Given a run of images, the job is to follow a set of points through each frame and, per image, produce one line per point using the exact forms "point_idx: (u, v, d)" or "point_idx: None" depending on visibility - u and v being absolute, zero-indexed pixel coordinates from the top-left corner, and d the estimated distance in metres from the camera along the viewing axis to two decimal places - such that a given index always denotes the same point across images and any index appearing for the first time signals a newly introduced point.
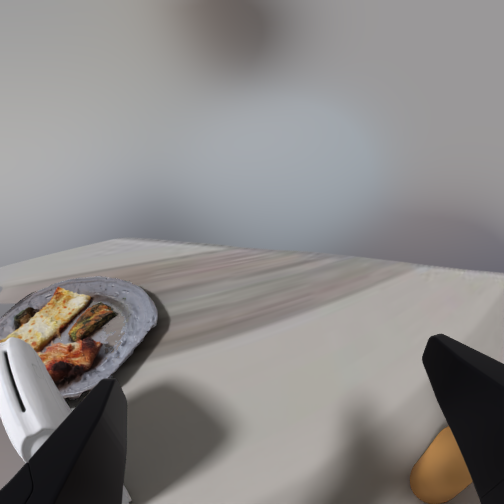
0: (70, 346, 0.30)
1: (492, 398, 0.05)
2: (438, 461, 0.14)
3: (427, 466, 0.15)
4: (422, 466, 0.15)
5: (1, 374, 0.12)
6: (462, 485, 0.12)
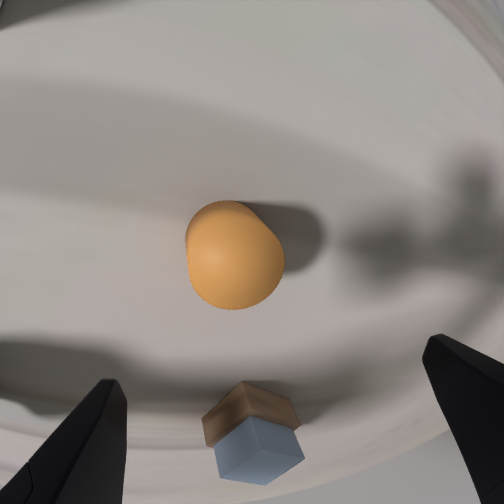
0: None
1: (492, 398, 0.05)
2: (206, 241, 0.15)
3: (203, 226, 0.16)
4: (208, 218, 0.17)
5: None
6: None
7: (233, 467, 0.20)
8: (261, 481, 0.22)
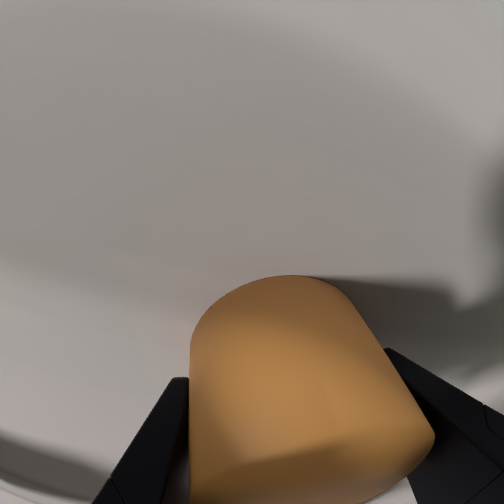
0: None
1: (435, 426, 0.05)
2: (241, 474, 0.04)
3: (234, 406, 0.05)
4: (250, 365, 0.05)
5: None
6: None
7: None
8: None
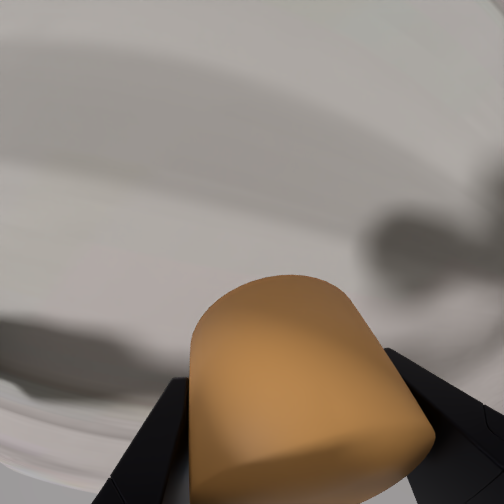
0: None
1: (435, 426, 0.05)
2: (242, 473, 0.04)
3: (234, 405, 0.05)
4: (250, 365, 0.05)
5: None
6: None
7: None
8: None
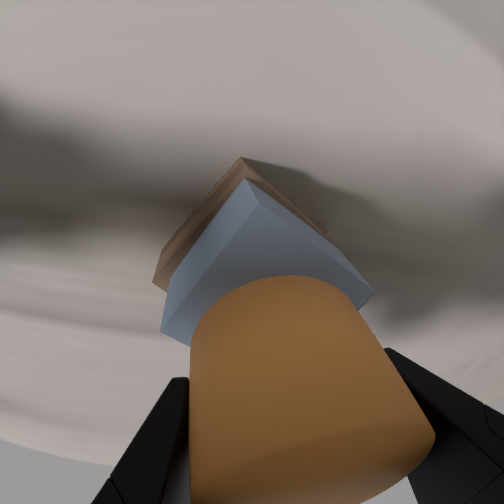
0: None
1: (435, 426, 0.05)
2: (242, 473, 0.04)
3: (234, 405, 0.05)
4: (250, 365, 0.05)
5: None
6: None
7: (189, 290, 0.09)
8: None
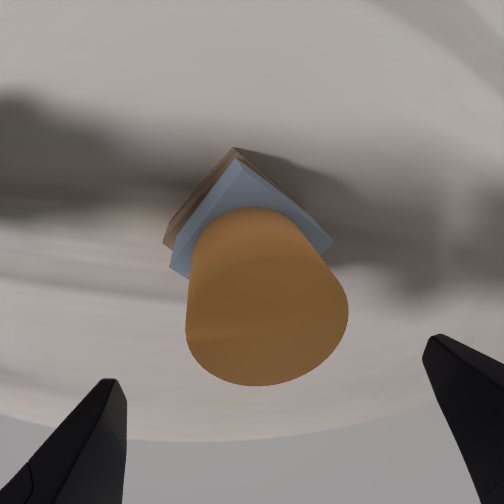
0: None
1: (492, 398, 0.05)
2: (217, 288, 0.08)
3: (215, 256, 0.09)
4: (226, 240, 0.10)
5: None
6: None
7: (192, 233, 0.13)
8: None
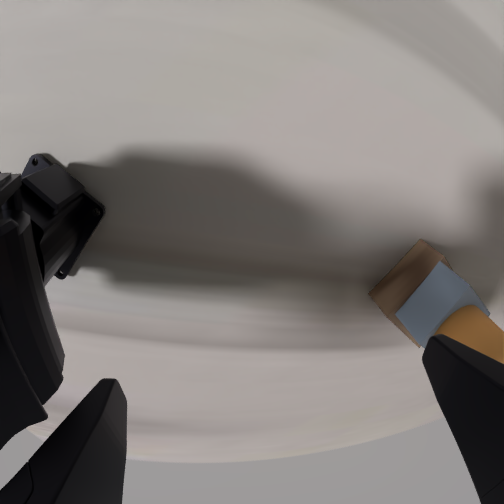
0: None
1: (492, 398, 0.05)
2: None
3: (479, 347, 0.14)
4: (478, 335, 0.14)
5: None
6: None
7: (436, 322, 0.17)
8: None
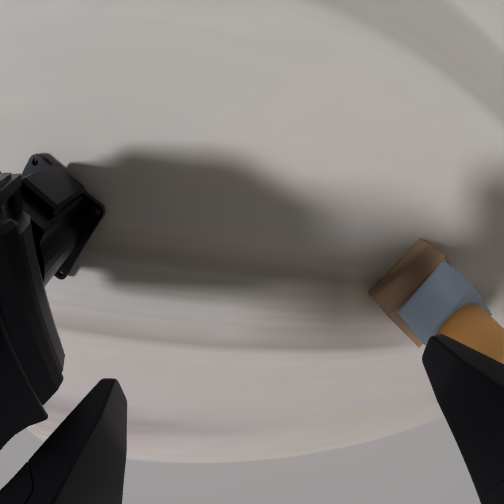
0: None
1: (492, 398, 0.05)
2: None
3: (483, 344, 0.14)
4: (481, 333, 0.14)
5: None
6: None
7: (439, 320, 0.17)
8: None
